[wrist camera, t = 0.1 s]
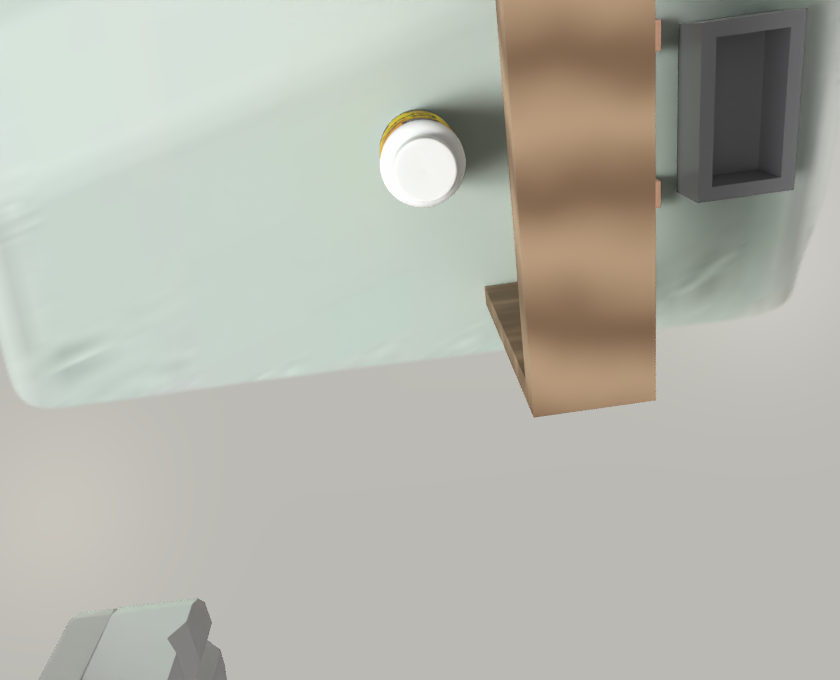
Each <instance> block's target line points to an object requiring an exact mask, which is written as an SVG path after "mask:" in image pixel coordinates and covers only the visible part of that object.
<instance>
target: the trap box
mask: <svg viewBox="0 0 840 680" xmlns="http://www.w3.org/2000/svg"><path fill="white" fill-rule="evenodd" d="M806 18H807V9H791V10H776V11H769V12H762V13H754V14H747V15H740V16H733V17H725V18H718V19H711V20H704V21H696V22H689V23H682V24H679V37H678V128H677V192H678V193H680V194H682V195H684V196H686V197H688V198H690V199H691V200H693V201H695V202H697V203H701V202H708V201H715V200H722V199H729V198H736V197H744V196H751V195H758V194H765V193H772V192H779V191H787V190H794V180H795V167H796V153H797V140H798V126H799V112H800V99H801V85H802V72H803V58H804V45H805V31H806Z"/></svg>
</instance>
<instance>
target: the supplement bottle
mask: <svg viewBox="0 0 840 680" xmlns="http://www.w3.org/2000/svg"><path fill="white" fill-rule="evenodd" d="M465 168H466V158H465V153H464V149H463V146H462V144H461V142H460V140H459V139H458V137H457V136H456V135H455V133H454V132H453V131H452V129H451V128H450V127H449V126H448V124H447V123H446V122H445V121H444V120H443V119H442V118H441V117H439V116H438V115H436V114H434V113H432V112H430V111H426V110H410V111H407V112H404V113H402V114H400V115H398V116H397V117H395V118H394V119H393V120H392V121H391V122H390V123H389V124H388V126H387V127H386V129H385V131H384V133H383V135H382V138H381V142H380V171H381V175H382V179H383V181H384V183H385V185H386V187H387V189H388V190H389V191H390V193H391V194H392V195H393V196H394V197H396V198H397V199H398V200H400V201H401V202H403V203H405V204H407V205H410V206H414V207H431V206H435V205H438V204H440V203H442V202H444V201H446V200H447V199H449V198H450V197H451V196H452V195H453V194H454V193H455V192H456V190H457V189H458V188H459V186H460V184H461V182H462V180H463V177H464V174H465Z"/></svg>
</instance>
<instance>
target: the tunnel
mask: <svg viewBox="0 0 840 680" xmlns="http://www.w3.org/2000/svg"><path fill="white" fill-rule="evenodd" d="M496 11H497V24H498V37H499V49H500V62H501V75H502V88H503V101H504V113H505V126H506V139H507V152H508V164H509V177H510V190H511V203H512V215H513V228H514V241H515V254H516V267H517V279H518V282H515V283H508V284H501V285H493V286H486V287H485V295H486V305H487V307H488V309H489V312H490V314H491V316H492V319H493V321H494V324H495V326H496V328H497V331H498V333H499V336H500V338H501V340H502V343H503V345H504V347H505V350H506V352H507V355H508V357H509V359H510V362H511V364H512V367H513V369H514V371H515V374H516V376H517V378H518V381H519V383H520V385H521V388H522V390H523V392H524V395H525V398H526V400H527V402H528V405H529V407H530V409H531V412H532V414H533V417H540V416H547V415H555V414H561V413H569V412H576V411H583V410H590V409H597V408H604V407H611V406H619V405H626V404H633V403H640V402H647V401H654V400H656V378H655V377H656V371H655V370H656V367H655V366H656V361H655V360H656V359H655V358H656V340H655V339H656V167H655V0H496Z"/></svg>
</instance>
